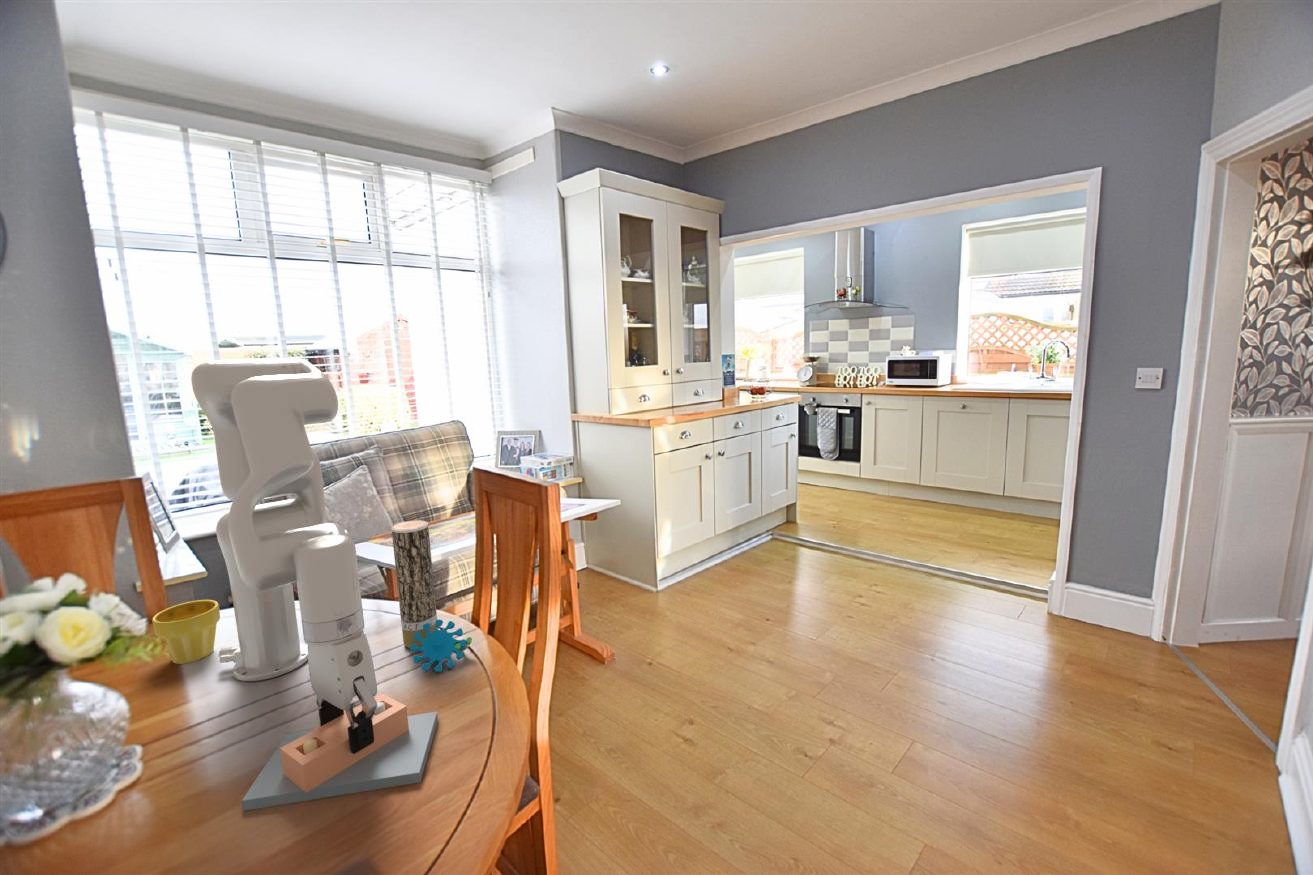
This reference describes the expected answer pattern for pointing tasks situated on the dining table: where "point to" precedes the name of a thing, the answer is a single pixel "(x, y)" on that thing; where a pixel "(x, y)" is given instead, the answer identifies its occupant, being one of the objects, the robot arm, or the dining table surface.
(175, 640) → the plant pot
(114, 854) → the dining table surface
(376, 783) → the slate board
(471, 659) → the dining table surface
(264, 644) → the robot arm
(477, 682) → the dining table surface
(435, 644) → the blue virus model
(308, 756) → the holed bar
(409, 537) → the bark log
